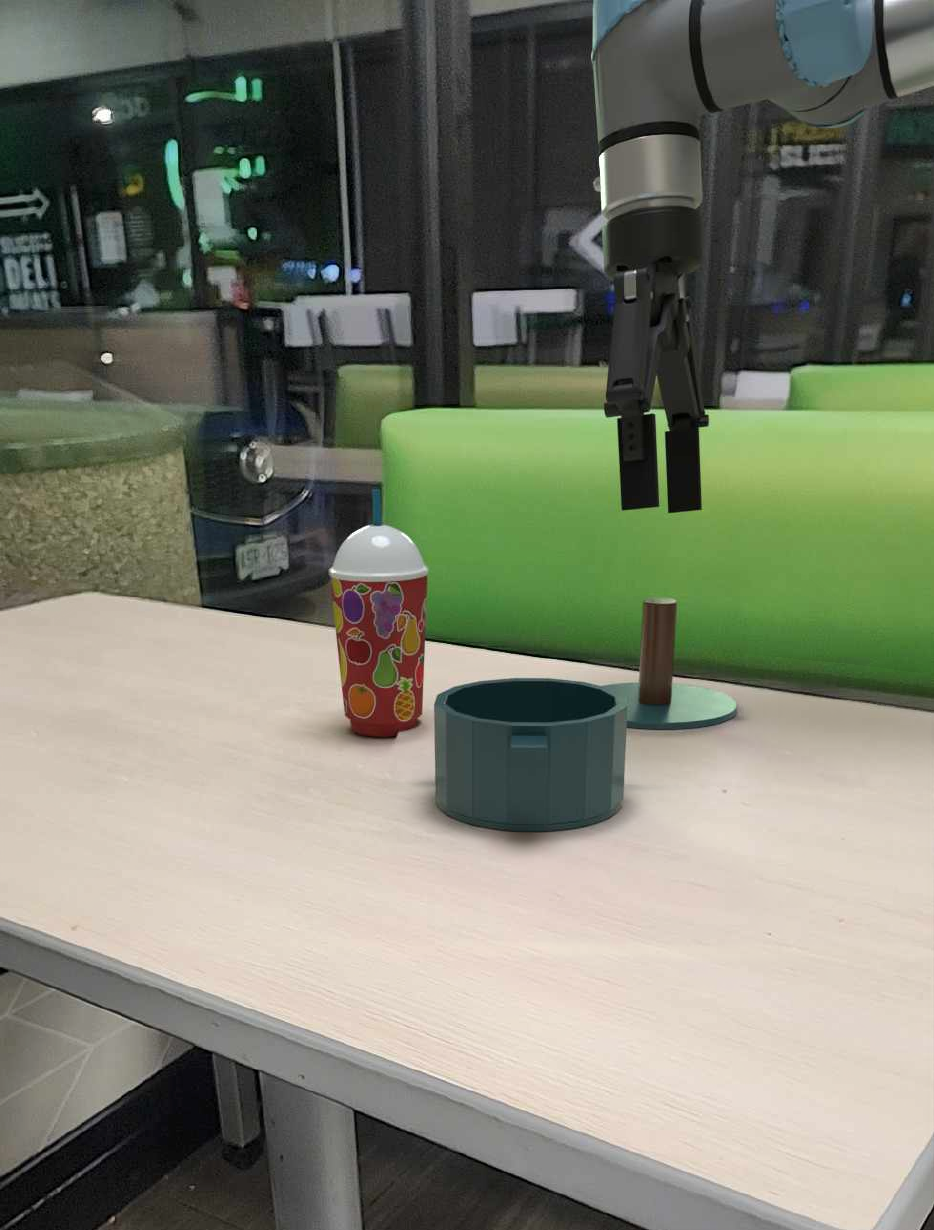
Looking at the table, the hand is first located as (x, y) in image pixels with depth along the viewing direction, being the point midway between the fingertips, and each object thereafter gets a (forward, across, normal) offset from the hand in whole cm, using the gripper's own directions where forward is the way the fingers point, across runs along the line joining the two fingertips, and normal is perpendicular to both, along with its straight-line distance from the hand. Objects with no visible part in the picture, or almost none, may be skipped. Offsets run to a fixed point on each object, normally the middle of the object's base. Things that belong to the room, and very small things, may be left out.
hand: (664, 510), depth 101 cm
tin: (+20, +17, -6) cm, 27 cm away
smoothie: (+16, +4, -25) cm, 30 cm away
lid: (+17, -10, -4) cm, 20 cm away
